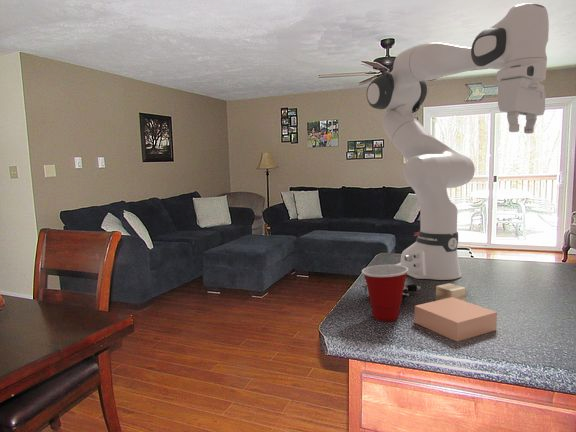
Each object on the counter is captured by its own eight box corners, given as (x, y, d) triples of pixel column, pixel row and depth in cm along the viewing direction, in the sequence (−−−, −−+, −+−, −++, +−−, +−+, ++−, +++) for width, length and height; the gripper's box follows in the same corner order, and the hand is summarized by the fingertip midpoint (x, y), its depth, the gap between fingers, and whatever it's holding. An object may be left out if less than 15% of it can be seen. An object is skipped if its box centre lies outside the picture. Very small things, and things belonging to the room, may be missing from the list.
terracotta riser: (414, 322, 95) (414, 305, 94) (451, 313, 100) (452, 297, 100) (457, 341, 84) (457, 322, 84) (496, 329, 90) (497, 312, 89)
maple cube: (435, 304, 107) (435, 286, 106) (449, 301, 109) (449, 283, 108) (451, 310, 102) (451, 291, 102) (465, 307, 104) (465, 287, 104)
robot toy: (382, 290, 123) (358, 300, 111) (382, 275, 123) (358, 283, 111) (423, 297, 116) (401, 308, 104) (423, 281, 115) (402, 291, 103)
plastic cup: (366, 307, 106) (366, 261, 104) (410, 312, 102) (411, 264, 100) (356, 322, 96) (356, 271, 94) (404, 328, 92) (405, 275, 90)
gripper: (526, 81, 109) (523, 134, 111) (493, 71, 96) (490, 132, 98) (553, 77, 105) (550, 133, 106) (522, 66, 91) (519, 130, 93)
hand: (521, 132), depth 102 cm, fingers open, 8 cm apart
